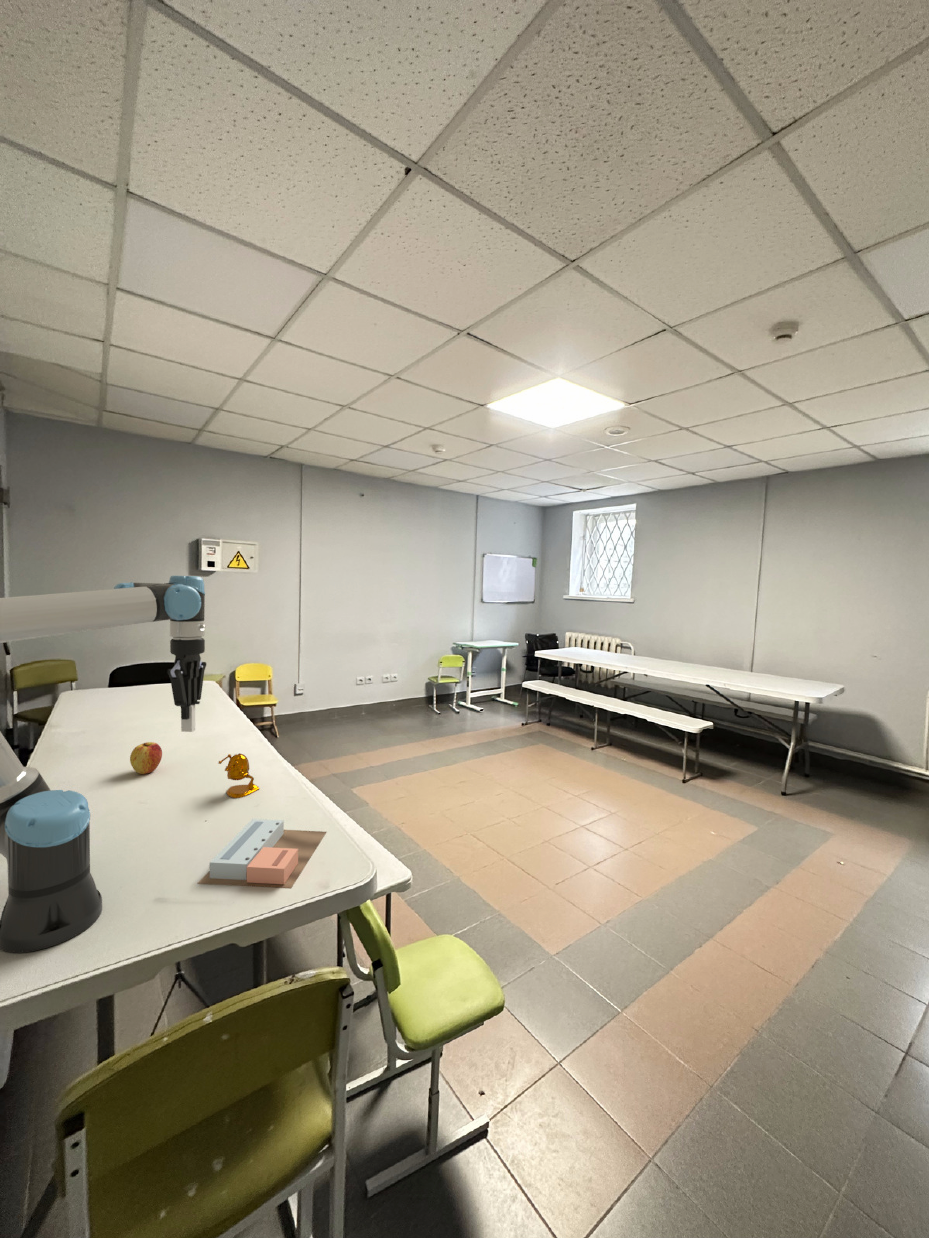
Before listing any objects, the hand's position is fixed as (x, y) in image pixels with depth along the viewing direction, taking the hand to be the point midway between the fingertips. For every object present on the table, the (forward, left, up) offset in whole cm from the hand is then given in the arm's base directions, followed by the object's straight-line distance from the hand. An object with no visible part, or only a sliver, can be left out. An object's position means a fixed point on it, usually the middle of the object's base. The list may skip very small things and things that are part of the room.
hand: (188, 730), depth 125 cm
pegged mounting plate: (-10, -20, -26) cm, 35 cm away
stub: (-17, -29, -26) cm, 42 cm away
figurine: (+25, -1, -27) cm, 37 cm away
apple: (+37, +37, -27) cm, 58 cm away
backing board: (-10, -25, -26) cm, 38 cm away
